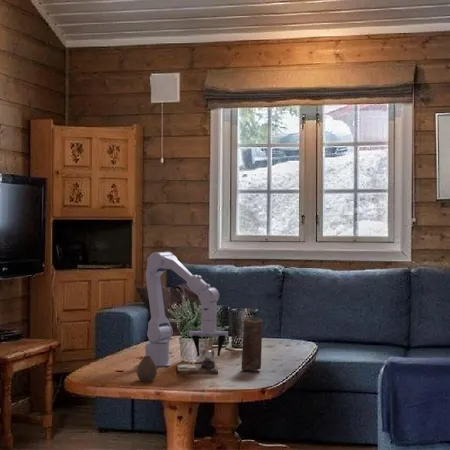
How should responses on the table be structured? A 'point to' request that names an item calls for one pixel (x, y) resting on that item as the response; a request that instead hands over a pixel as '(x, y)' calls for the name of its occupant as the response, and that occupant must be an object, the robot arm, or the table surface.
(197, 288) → the robot arm
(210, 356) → the knob
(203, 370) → the base board
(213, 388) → the table surface
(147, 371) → the vase
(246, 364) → the candle
